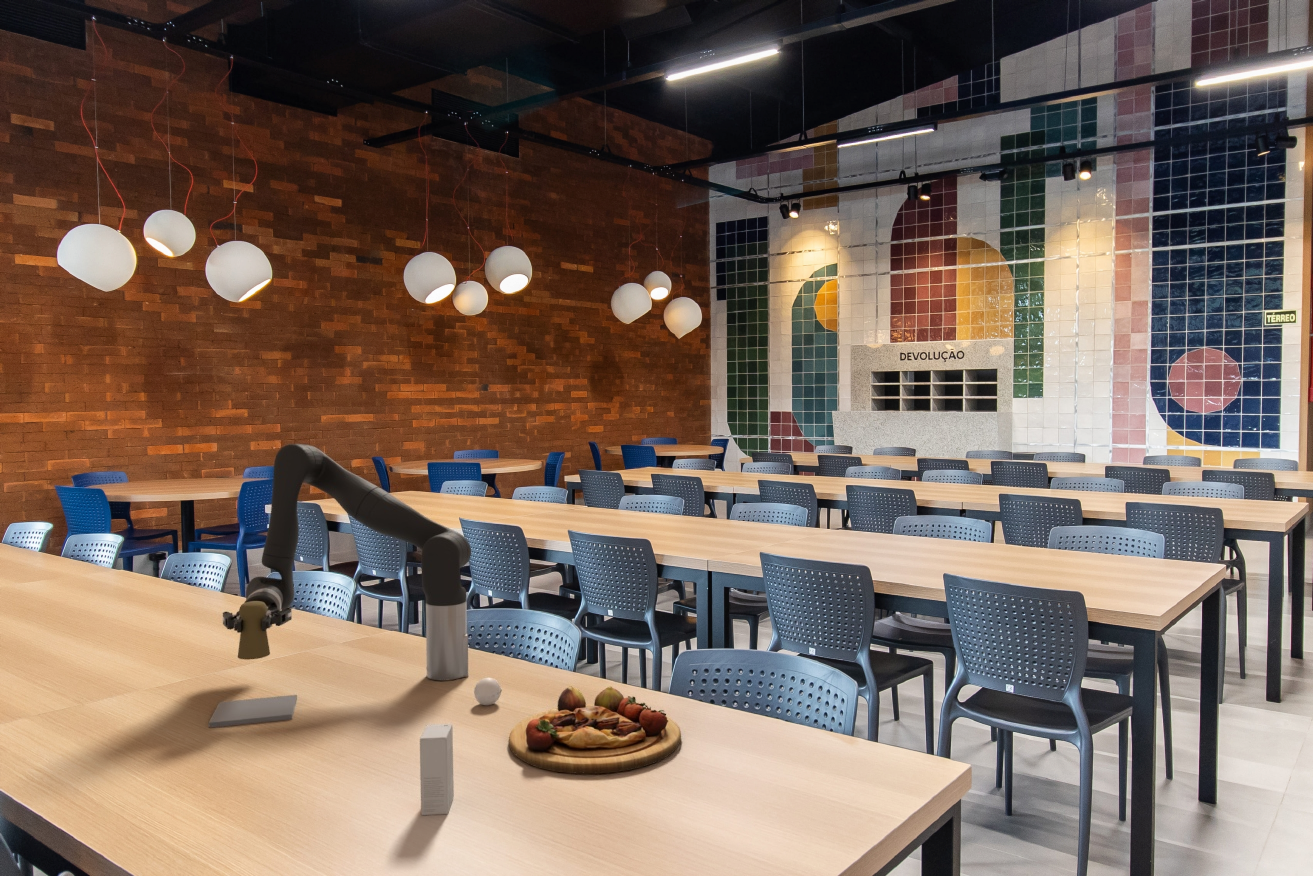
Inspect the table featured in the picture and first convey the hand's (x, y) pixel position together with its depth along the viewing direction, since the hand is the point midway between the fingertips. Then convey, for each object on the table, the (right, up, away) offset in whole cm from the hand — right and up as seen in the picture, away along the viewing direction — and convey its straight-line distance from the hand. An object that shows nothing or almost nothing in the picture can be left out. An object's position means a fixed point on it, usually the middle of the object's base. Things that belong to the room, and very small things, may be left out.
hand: (251, 626), depth 177 cm
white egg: (+46, -18, +9) cm, 50 cm away
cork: (-1, -7, +3) cm, 7 cm away
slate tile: (-1, -18, +3) cm, 19 cm away
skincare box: (+47, -20, -40) cm, 65 cm away
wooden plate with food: (+70, -19, -13) cm, 74 cm away
